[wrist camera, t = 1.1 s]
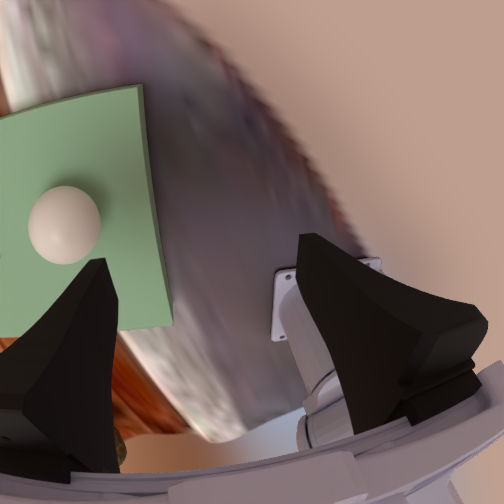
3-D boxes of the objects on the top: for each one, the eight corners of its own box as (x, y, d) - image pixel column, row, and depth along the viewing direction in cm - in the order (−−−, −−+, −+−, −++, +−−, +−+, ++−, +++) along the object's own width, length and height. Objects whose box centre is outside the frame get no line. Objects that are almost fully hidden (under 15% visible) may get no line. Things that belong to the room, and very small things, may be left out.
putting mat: (142, 83, 15) (137, 87, 13) (172, 302, 25) (173, 325, 23) (-92, 157, 12) (-110, 170, 10) (-26, 318, 21) (-34, 337, 19)
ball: (99, 168, 15) (80, 200, 12) (112, 233, 18) (101, 276, 14) (35, 181, 15) (6, 214, 11) (53, 242, 17) (33, 284, 14)
